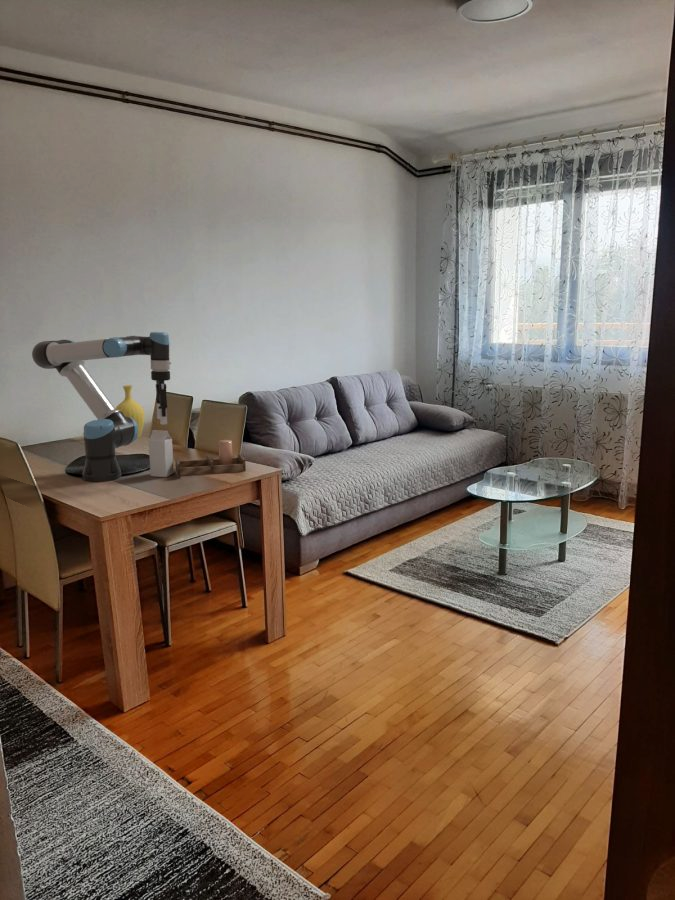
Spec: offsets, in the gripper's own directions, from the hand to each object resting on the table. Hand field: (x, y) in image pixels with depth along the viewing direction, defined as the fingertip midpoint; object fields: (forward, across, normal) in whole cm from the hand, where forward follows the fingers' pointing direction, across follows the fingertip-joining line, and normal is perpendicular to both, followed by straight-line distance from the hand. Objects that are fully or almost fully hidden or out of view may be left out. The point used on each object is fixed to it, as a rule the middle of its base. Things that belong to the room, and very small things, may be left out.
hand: (162, 421), depth 275 cm
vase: (+24, +91, +9) cm, 94 cm away
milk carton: (+23, -2, +1) cm, 23 cm away
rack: (+22, -4, -19) cm, 29 cm away
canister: (+21, -4, -26) cm, 33 cm away
